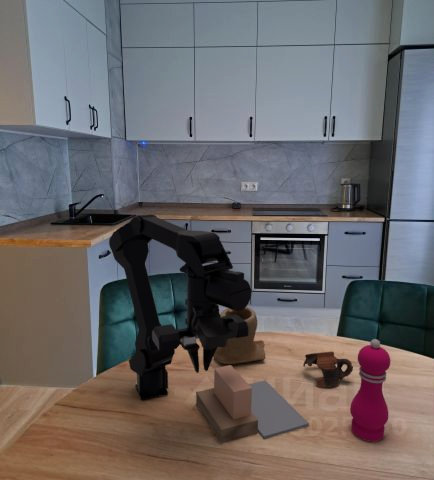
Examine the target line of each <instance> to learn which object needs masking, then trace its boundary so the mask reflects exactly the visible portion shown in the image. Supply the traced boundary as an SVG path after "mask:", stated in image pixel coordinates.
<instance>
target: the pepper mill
mask: <svg viewBox="0 0 434 480" xmlns="http://www.w3.org/2000/svg"><path fill="white" fill-rule="evenodd" d="M357 362H358V364H359V368H358V369H359V372H358V375H359V377H360V387H359V389H358V391H357V393H356V394H355V395H354V397H353V399H352V400H351V403H350V407H349V410H350V411H349V412H350V414H351V417H352V419H351V423H350V424H351V425H350V429H351V431H352V433H353V434H354V435H355V436H356V437H357V438H359V439H361V440H363V441H368V442H378V441H381V440H382V439H384V436H385V425H386V424H387V423H388V420H389V409H388V408H389V407H388V405H387V401H386V399H385V397H384V394H383V384H384V382H386V380H387V371H388V370H389V368H390V367H391V356H390V354H389V352H388V350H386V349H385V348H383V347H382V346H381V341H380V340H378V339H376V338H373V339H372V340H370V343H369V344H367V345H364V346H363V347H362V348H360V349H359V352H358V354H357Z"/></svg>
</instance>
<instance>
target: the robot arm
mask: <svg viewBox="0 0 434 480" xmlns="http://www.w3.org/2000/svg"><path fill="white" fill-rule="evenodd" d="M220 239H221V238H220V236H219V234H217V233H215V232H212V231H211V232H210V231H205V230H190V229H186V228H184V227H181V226H179V225H176V224H174V223H171V222H169V221H166V220H164V219H162V218H159V217H157V216H156V214H153V213H152V214H151V213H149V214H148V213H147V214H139V215H138V214H137V215H135V216H134V217H132V218H131V219H130V221H128V222H127V223H126V224H124V225H122V226H120V227H118V228H117V229H116V230H115V231H113V232H112V234H111V236H110V238H109V240H108V245H109V248H110V250H111V254H112V256H113V258H114V260H115V262H116V263H118V265H120V267H121V268H123V270H124V274H125V278H126V282H127V286H128V291H129V293H130V294H129V296H130V298H131V303H132V306H133V311H134V314H135V315H134V316H135V319H136V322H137V323H136V324H137V327H138V331H137V335H136V338H135V342H134V345H135V354H133V356H131V357H130V358H129V360H128V365H129V369H130V371H132V372H133V373H135V374H136V384H135V385H134V386H135V387H134V388H135V390H136V392H137V394H138V397H139V400H141V401H144V400H151V399H154V398H158V397H163V396H167V395H168V394H169V391H168V388H169V371H168V370H167V369H166V366H168V365H171V364H172V362H173V358H174V355H175V354H176V353H175V352H176V351H175V350H177V348H179V346H180V347H182V349H183V350H184V351H187V354H188V355H189V356H188V357H189V358H190V361H191V363H192V366H193V369H194V371H195V372H196V373H197V374H199V373H200V357H199V349H200V347H202V365H203V370H204V371H205V372H207V371H208V370H209V369H210V366H211V363H212V361H213V358H214V357H215V356H214V353H215V352H216V350H217V348H218V347H225V346H226V345H227V341H228V339H232V338H234V337H236V338H240V337H246V336H248V335H249V325H248V323H247V322H246V321H245V320H243V319H242V318H241V317H240V316H238V315H237V314H235V315H228V316H222V318H221V316H220V314H221V313H220V307H224V308H225V309H227V308H229V309H232V310H235V311H242V310H243V309H244V308H245V307H248V305H249V303H250V301H251V299H252V293H253V292H252V288H251V284H250V282H249V280H247V279H245V273H244V272H242V271H234V270H233V268H234V266H233V264H232V262H231V259H230V257H229V256H228V253H227V252H226V250H225V248H224V246H223V242H221V240H220ZM152 240H154V241H156V242H158V243H160V244H162V245H164V246H166V247H168V248H171V249H172V250H174V251H175V254H176V256H177V258H179V259H180V260H181V261H182V262H184V265H182V266H181V267H180V268H179V272H181V273H184V274H186V299H185V300H184V301H185V302H184V303H185V306H186V318H185V325H186V327H185V328H180V329H177V328H176V327H175V326H174V325H173V324H172V323H169V324H164V325H163V324H161V322H160V317H159V314H158V310H157V307H156V303H155V298H154V294H153V290H152V286H151V282H150V278H149V274H148V270H147V266H146V262H147V258H148V255H149V252H150V249H149V244H150V243H151V241H152ZM204 264H205V265H204ZM219 306H220V307H219ZM197 337H198V339H199V342H200V344H201V346H200V344H198V343H197Z"/></svg>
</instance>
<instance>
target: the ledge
mask: <svg viewBox="0 0 434 480" xmlns="http://www.w3.org/2000/svg"><path fill="white" fill-rule="evenodd" d="M195 394H196V395H195V398H196V399H195V404H196V406H197V408H198V409H199V411H200V413H201V414H202V416H203V417H204V418H205V420H206V422H207V423H208V425H209V427H210V428H211V430H212V432H213V433H214V434H215V436H216V438H217V439H218V441H219V443H220V444H225V443H228V442H231V441H235V440H236V441H237V440H239V439H242V438H245V437H248V436H249V437H250V436H252V435H255V434H258V433H259V432H258V419H257V418H256V417H255V416H254V414H253V413H252V412H251V415H248V416H244V417H241V418H237V419H233V418H232V417H231V415H230V414H229V413H228V411H227V410H226V409H225V407H224V406H223V405H222V403H221V402H220V401H219V399H218V398H217V397H216V395H215V394H214V387H212V388H209V389H203V390H198V391H195Z"/></svg>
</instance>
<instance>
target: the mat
mask: <svg viewBox="0 0 434 480" xmlns="http://www.w3.org/2000/svg"><path fill="white" fill-rule="evenodd" d="M248 384H249V385H250V386H251V387H252V402H251V412H252V413H253V414H254V416H255V417H256V418H257V419H258V433H259V435H260V436H261V438H262V439H263V440H265V439H268V438H273V437H276V436H279V435H282V434H287V433H289V432H292V431H293V432H294V431H296V430H299V429H302V428H306V427H310V422H308V421H307V420H306V418H304V417H303V416H302V415H301V414H300V412H298V411H297V410H296V409H295V408H294V407H293V406H292V405H291V403H289V402H288V401H287V400H286V399H285V398H284V397H283V396H282V395H281V394H280V393H279V392H278V391H277V390H276V389H275V388H274V387H273V386H272V385H271V384H270V383H269V382H268V381H267V380H265V379H264V380H261V381H260V380H259V381H256V382H252V383H248Z"/></svg>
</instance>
